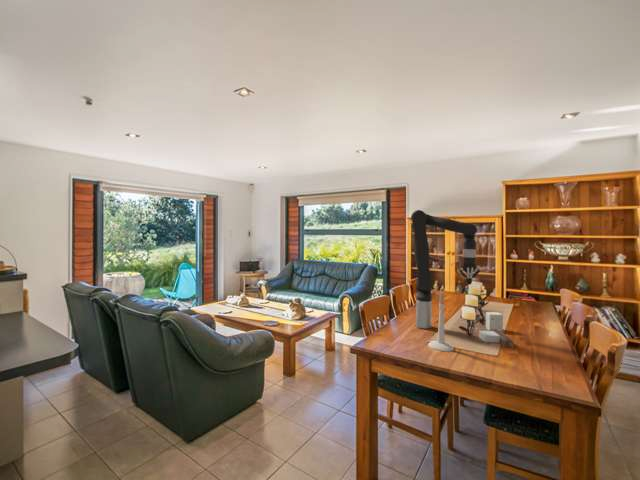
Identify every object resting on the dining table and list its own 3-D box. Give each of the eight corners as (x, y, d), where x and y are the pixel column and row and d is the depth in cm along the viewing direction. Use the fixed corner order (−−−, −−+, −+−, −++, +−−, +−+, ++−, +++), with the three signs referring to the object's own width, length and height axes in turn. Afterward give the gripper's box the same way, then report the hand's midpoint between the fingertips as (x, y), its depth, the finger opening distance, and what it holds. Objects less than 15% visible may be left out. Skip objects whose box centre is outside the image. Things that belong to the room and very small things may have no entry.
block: (484, 342, 174) (484, 335, 174) (479, 337, 182) (479, 330, 182) (499, 343, 173) (500, 335, 173) (493, 338, 181) (493, 331, 181)
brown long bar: (505, 346, 166) (505, 340, 166) (489, 334, 186) (489, 328, 186) (513, 347, 166) (513, 340, 166) (496, 334, 186) (496, 329, 185)
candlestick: (442, 353, 157) (443, 294, 156) (423, 345, 168) (423, 290, 167) (459, 349, 163) (460, 292, 162) (439, 341, 174) (440, 288, 173)
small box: (498, 328, 198) (499, 312, 197) (502, 331, 192) (503, 314, 192) (485, 328, 198) (485, 311, 198) (489, 331, 193) (489, 314, 192)
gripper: (460, 256, 189) (459, 285, 190) (483, 257, 187) (482, 285, 188) (456, 255, 197) (455, 283, 197) (478, 256, 195) (477, 283, 195)
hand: (468, 284), depth 192 cm, fingers closed
